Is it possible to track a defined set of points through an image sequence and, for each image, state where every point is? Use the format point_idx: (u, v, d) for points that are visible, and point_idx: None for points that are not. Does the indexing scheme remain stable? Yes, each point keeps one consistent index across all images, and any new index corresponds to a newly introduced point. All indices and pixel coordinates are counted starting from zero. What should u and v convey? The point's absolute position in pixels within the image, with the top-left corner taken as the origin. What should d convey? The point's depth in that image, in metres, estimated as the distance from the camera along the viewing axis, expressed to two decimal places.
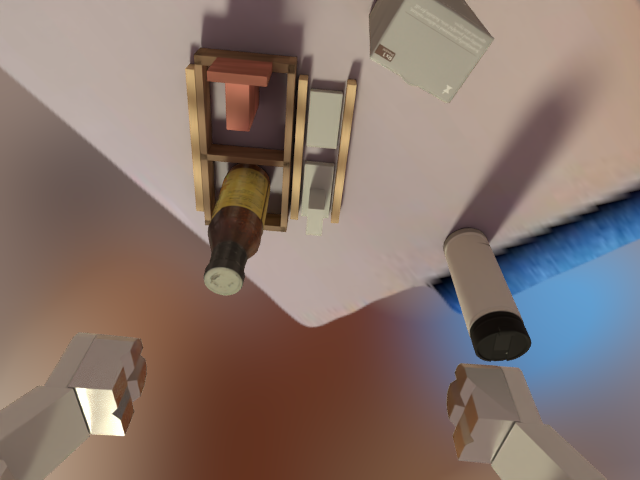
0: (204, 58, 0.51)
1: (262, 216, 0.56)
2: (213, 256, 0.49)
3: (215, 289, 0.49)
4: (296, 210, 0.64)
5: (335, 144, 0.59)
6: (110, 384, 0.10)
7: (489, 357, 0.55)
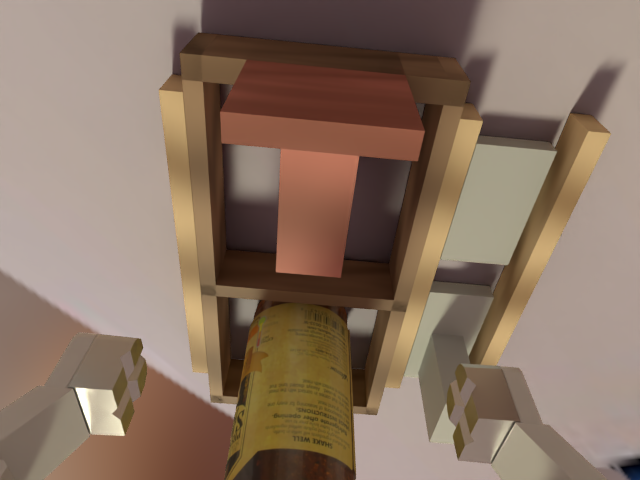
0: (210, 63, 0.18)
1: (352, 450, 0.23)
2: None
3: None
4: (399, 374, 0.31)
5: (508, 256, 0.26)
6: (110, 384, 0.10)
7: None
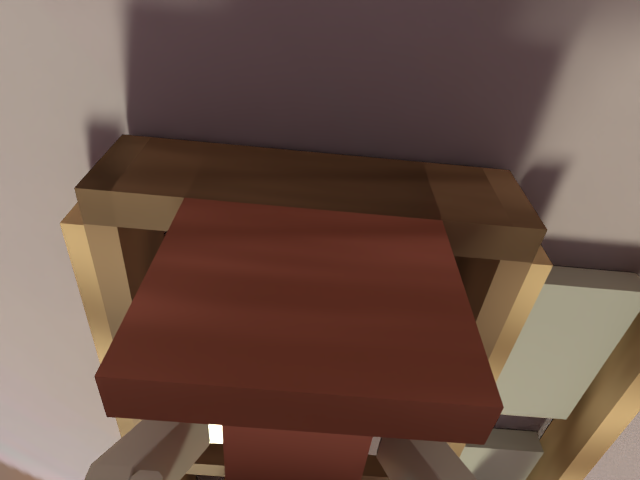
0: (126, 202, 0.11)
1: None
2: None
3: None
4: None
5: (567, 410, 0.19)
6: None
7: None
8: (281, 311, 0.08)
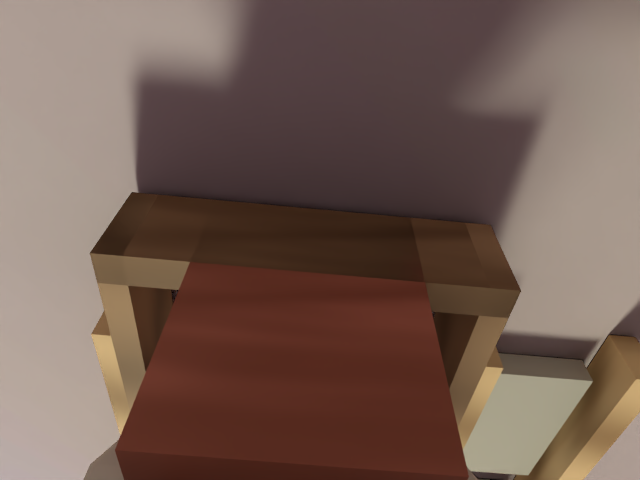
0: (136, 265, 0.12)
1: None
2: None
3: None
4: None
5: (528, 468, 0.22)
6: None
7: None
8: (277, 381, 0.09)
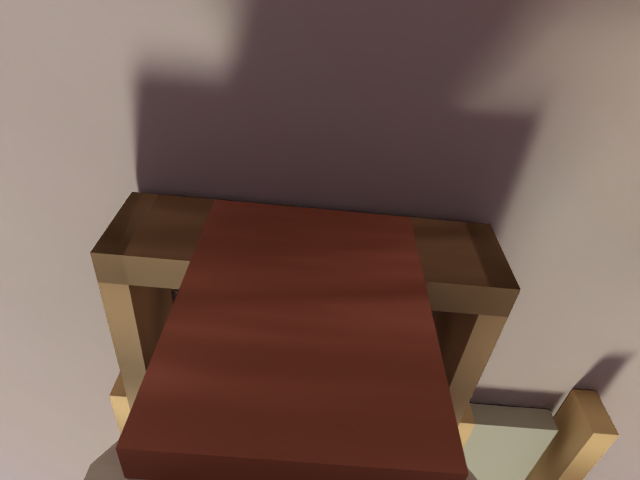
0: (137, 264, 0.12)
1: None
2: None
3: None
4: None
5: None
6: None
7: None
8: (277, 380, 0.09)
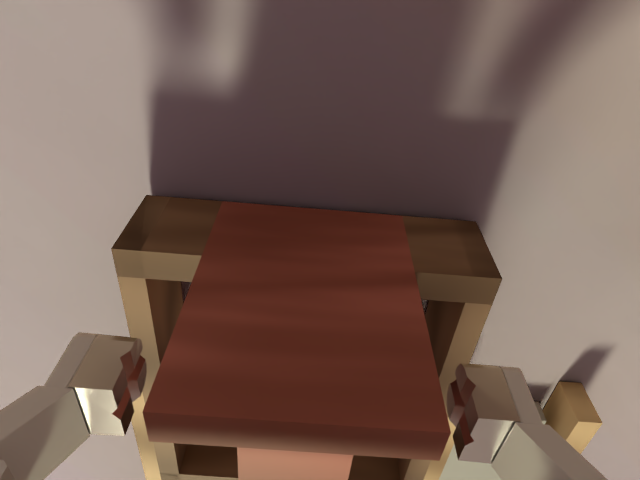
0: (153, 259, 0.13)
1: None
2: None
3: None
4: None
5: None
6: (110, 384, 0.10)
7: None
8: (282, 356, 0.10)
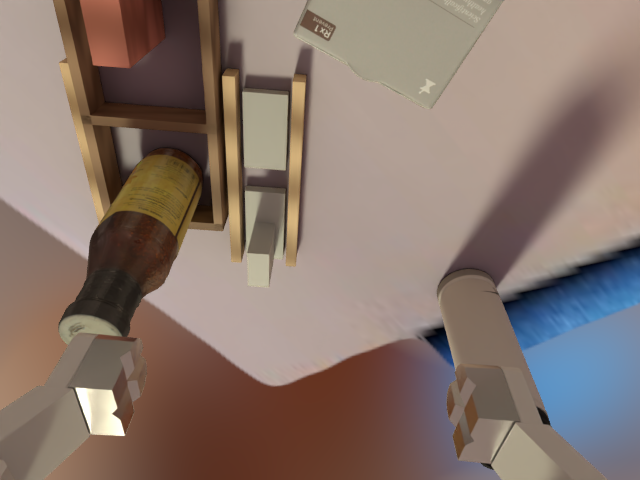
0: None
1: (179, 230, 0.37)
2: (82, 292, 0.30)
3: None
4: (238, 251, 0.48)
5: (283, 164, 0.43)
6: (110, 384, 0.10)
7: None
8: None
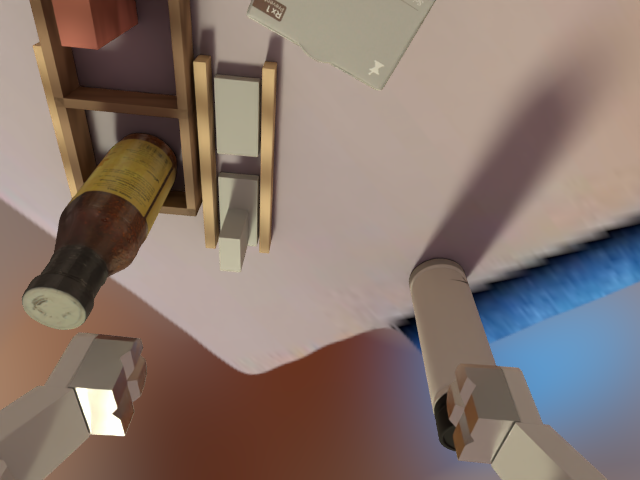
0: None
1: (148, 212, 0.38)
2: (47, 267, 0.31)
3: (42, 319, 0.31)
4: (212, 237, 0.49)
5: (256, 150, 0.44)
6: (110, 384, 0.10)
7: None
8: None
